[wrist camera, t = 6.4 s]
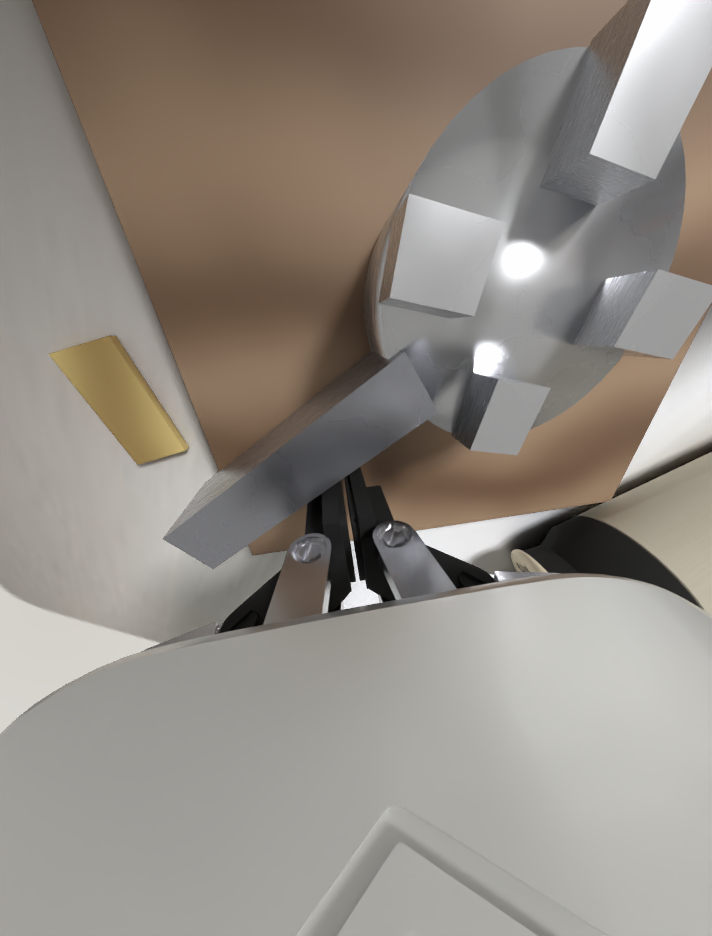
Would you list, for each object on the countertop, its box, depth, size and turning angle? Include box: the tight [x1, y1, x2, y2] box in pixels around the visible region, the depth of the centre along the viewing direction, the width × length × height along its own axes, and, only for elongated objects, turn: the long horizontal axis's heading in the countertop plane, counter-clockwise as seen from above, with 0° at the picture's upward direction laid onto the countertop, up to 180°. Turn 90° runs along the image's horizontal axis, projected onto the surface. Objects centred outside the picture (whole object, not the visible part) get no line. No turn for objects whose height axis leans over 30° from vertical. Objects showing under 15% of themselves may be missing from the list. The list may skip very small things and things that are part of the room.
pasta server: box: [163, 0, 712, 569], centre depth 8 cm, size 17×8×4 cm, turn 126°
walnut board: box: [32, 0, 712, 555], centre depth 10 cm, size 22×27×2 cm
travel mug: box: [511, 452, 712, 615], centre depth 15 cm, size 8×8×18 cm
